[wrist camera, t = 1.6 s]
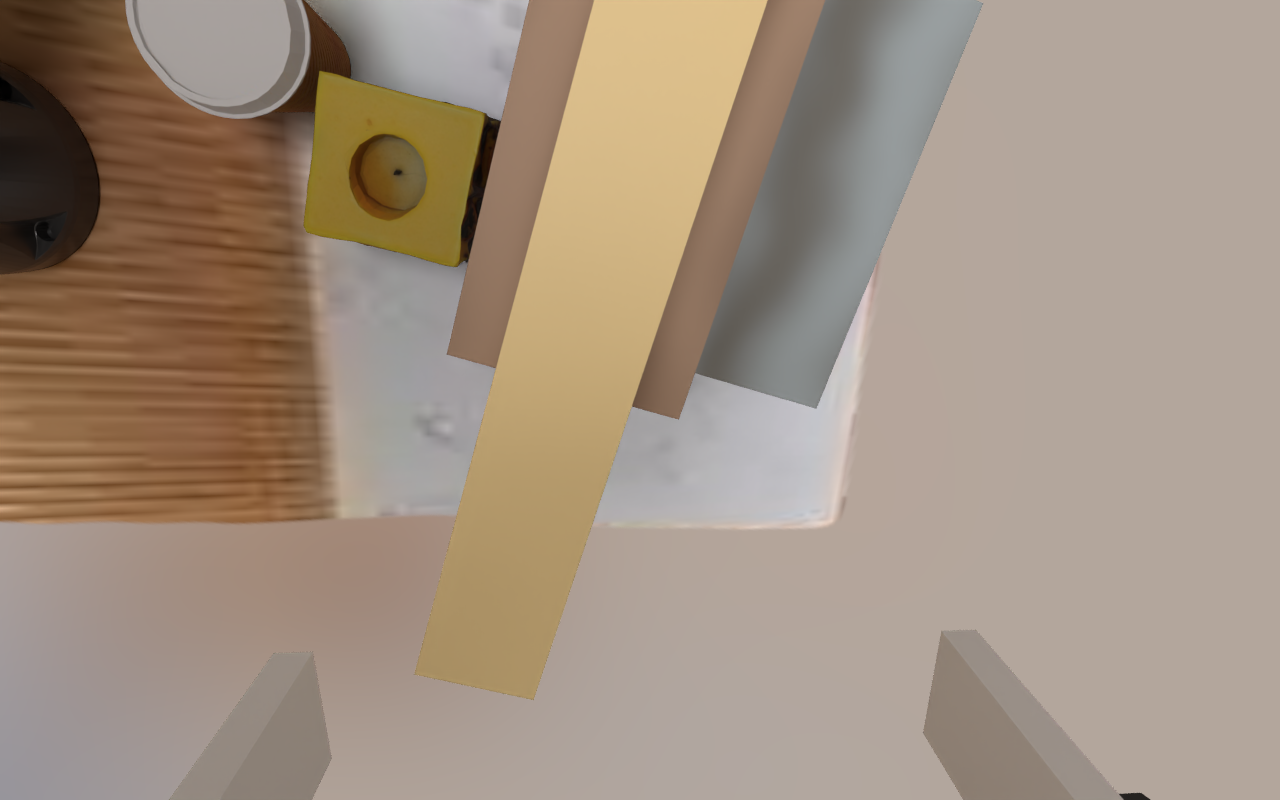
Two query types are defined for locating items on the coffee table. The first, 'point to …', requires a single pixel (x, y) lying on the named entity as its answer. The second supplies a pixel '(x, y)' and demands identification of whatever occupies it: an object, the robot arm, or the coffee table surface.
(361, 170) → the candle
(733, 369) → the stepped stand
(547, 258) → the ochre batten
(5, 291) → the coffee table surface
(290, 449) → the coffee table surface
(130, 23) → the disposable coffee cup
